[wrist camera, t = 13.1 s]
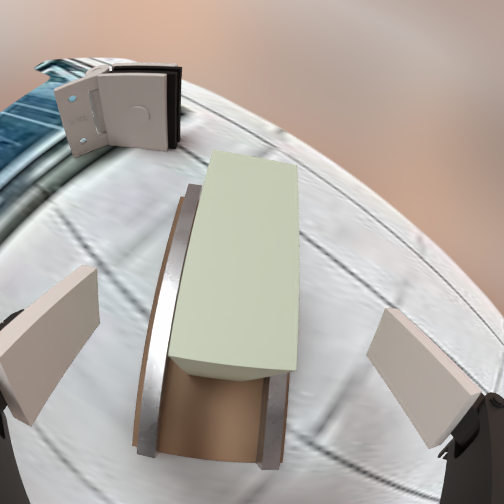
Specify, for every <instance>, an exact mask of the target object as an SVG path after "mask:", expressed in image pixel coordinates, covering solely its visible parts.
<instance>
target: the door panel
mask: <svg viewBox="0 0 504 504" xmlns="http://www.w3.org/2000/svg"><path fill="white" fill-rule="evenodd" d="M298 313H299V204H298V173H297V166H296V165H291V164H287V163H282V162H277V161H273V160H268V159H263V158H257V157H252V156H246V155H241V154H235V153H229V152H222V151H216V150H213V152H212V156H211V159H210V163H209V166H208V170H207V174H206V177H205V181H204V185H203V189H202V192H201V196H200V200H199V204H198V208H197V212H196V216H195V220H194V225H193V229H192V233H191V237H190V242H189V246H188V251H187V255H186V260H185V265H184V269H183V274H182V279H181V284H180V289H179V294H178V300H177V305H176V310H175V316H174V322H173V327H172V333H171V340H170V346H169V352H168V356H169V357H170V358H171V359H172V360H173V361H174V362H175V363H176V364H177V365H178V366H179V367H180V368H181V369H182V370H183V371H184V372H185V373H186V374H188V375H194V376H200V377H207V378H215V379H223V380H231V381H241V382H243V381H249V380H254V379H259V378H264V377H269V376H274V375H279V374H283V373H287V372H292V371H296V365H297V343H298Z"/></svg>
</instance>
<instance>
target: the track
mask: <svg viewBox="0 0 504 504" xmlns="http://www.w3.org/2000/svg"><path fill="white" fill-rule="evenodd" d="M201 192H202V186H201V185H195V184H189V185H188V188H187V191H186V194H185V197H180V201H179V204H178V207H177V211H176V214H175V217H174V221H173V224H172V228H171V232H170V235H169V239H168V243H167V246H166V250H165V254H164V258H163V262H162V266H161V270H160V274H159V278H158V283H157V287H156V292H155V296H154V301H153V305H152V310H151V315H150V320H149V325H148V330H147V336H146V341H145V347H144V353H143V359H142V365H141V372H140V379H139V386H138V393H137V402H136V410H135V420H134V431H133V443H132V446H136V447H137V454H139V455H143V456H147V457H152V458H155V457H156V455H157V454H158V452H162V453H167V454H173V455H178V456H185V457H191V458H199V459H207V460H217V461H229V462H247V463H256V464H257V465H258V466H259V467H260V468H261V470H278V469H279V465H280V463H282V461H283V451H284V441H285V429H286V418H287V405H288V391H289V375H290V372H287V373H283V374H279V375H274V376H269V377H264V378H259V379H254V380H249V381H243V382H241V381H231V380H223V379H215V378H207V377H200V376H194V375H188V374H186V373H185V372H184V371H183V370H182V369H181V368H180V367H179V366H178V365H177V364H176V363H175V362H174V361H173V360H172V359H171V358H170V357H169V356H168V352H169V346H170V340H171V333H172V327H173V322H174V316H175V310H176V305H177V300H178V294H179V289H180V284H181V279H182V274H183V269H184V265H185V260H186V255H187V251H188V246H189V242H190V237H191V233H192V229H193V225H194V220H195V216H196V212H197V208H198V204H199V200H200V196H201Z"/></svg>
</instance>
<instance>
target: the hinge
mask: <svg viewBox="0 0 504 504" xmlns="http://www.w3.org/2000/svg"><path fill="white" fill-rule="evenodd" d="M181 78H182V67H177V64H170V63H115V64H114V65H113V66H112V71H109V66H108V65H101V66H97V67H94V68H92V69H90V70H88V71H87V72H86V76H85V77H83V78H80V79H78V80H75V81H72V82H70V83H67V84H65V85H62V86H60V87H57V88H55V89H54V94H55V98H56V102H57V105H58V109H59V113H60V116H61V119H62V123H63V126H64V129H65V133H66V136H67V139H68V142H69V145H70V148H71V151H72V153H73V156H74V158H76V157H78V156H80V155H83V154H85V153H87V152H90V151H92V150H95V149H98V148H100V147H103V146H105V145H108V144H109V145H110V146H122V147H132V148H142V149H151V150H159V151H167V150H168V148H171V149H176V147H177V142H179V141H180V110H181ZM88 92H89V93H88ZM73 95H74V96H76V100H75V101H74V102H70V101H69V100H68V99H69V97H70V96H73ZM89 95H90V98H89ZM90 100H91V103H90ZM91 105H92V108H91ZM92 110H93V113H92ZM93 115H94V117H93ZM94 119H95V122H94ZM95 124H96V126H95ZM96 128H97V130H96ZM97 132H98V133H97ZM82 138H86V139H87V141H86V142H85V143H81V142H80V140H81V139H82Z"/></svg>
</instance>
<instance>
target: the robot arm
mask: <svg viewBox="0 0 504 504" xmlns="http://www.w3.org/2000/svg"><path fill="white" fill-rule="evenodd" d="M99 324H100V318H99V304H98V283H97V268H95V267H90V266H85V265H82V266H80V267H79V268H78V269H76V270H75V271H74V272H72V273H71V274H69V275H68V276H67V277H65V278H64V279H63V280H62V281H60V282H59V283H58V284H56V285H55V286H54V287H52V288H51V289H50V290H49V291H47V292H46V293H45V294H43V295H42V296H41V297H40V298H38V299H37V300H36V301H35V302H34V303H32V304H31V305H30V306H29V307H27V308H26V309H25V310H24V309H22V310H20V311H18V312H15V313H13V314H11V315H10V316H9V317H8V318H6V319H5V320H4V321H3V323H1V324H0V504H30V502H29V499H28V497H27V494H26V491H25V489H24V486H23V483H22V480H21V477H20V474H19V470H18V467H17V464H16V460H15V456H14V453H13V449H12V444H11V440H10V435H9V430H8V425H7V419H6V416H5V414H4V412H3V410H4V409H5V408H6V406H7V405H8V407H9V409H10V411H11V413H12V415H13V416H14V417H15V418H16V419H18V420H20V421H22V422H23V423H25V424H27V425H29V426H31V427H32V425H33V423H34V421H35V420H36V418H37V416H38V415H39V413H40V411H41V409H42V408H43V406H44V405H45V403H46V401H47V400H48V398H49V397H50V395H51V393H52V392H53V390H54V389H55V387H56V386H57V384H58V382H59V381H60V379H61V378H62V376H63V375H64V373H65V372H66V370H67V369H68V367H69V366H70V364H71V363H72V362H73V360H74V359H75V357H76V356H77V354H78V353H79V352H80V350H81V349H82V347H83V346H84V345H85V343H86V342H87V340H88V339H89V338H90V336H91V335H92V333H93V332H94V331H95V329H96V328H97V327H98V325H99ZM366 355H367V357H368V358H369V360H370V361H371V362H372V364H373V365H374V367H375V368H376V370H377V371H378V373H379V374H380V376H381V377H382V378H383V380H384V381H385V383H386V384H387V386H388V387H389V389H390V390H391V392H392V393H393V395H394V396H395V398H396V399H397V401H398V402H399V404H400V405H401V407H402V408H403V410H404V411H405V413H406V414H407V416H408V417H409V419H410V421H411V422H412V424H413V425H414V427H415V428H416V430H417V431H418V433H419V435H420V436H421V438H422V439H423V441H424V442H425V444H426V446H427V447H428V449H431V448H433V447H436V446H438V445H441V444H442V443H443V442H444V441H445V439H446V438H447V437H448V436H449V435H450V434H451V435H452V436H453V437H454V438H453V439H452V440H451V441H450V442H449V443H448V444H447V446H446V447H445V448H444V449H443V450H442V451H441V452H440V453H439V455H438V458H440V457H441V456H442V455H443V454H444V453H445V452H448V453H447V454H446V455H445V456H444V457H443V459H445V460H447V464H446V471H445V478H444V484H443V489H442V494H441V499H440V504H504V399H503V398H502V397H501V396H500V395H498V394H496V393H491V392H490V393H487V394H486V396H484V395H483V394H482V393H481V392H482V391H481V390H480V389H479V388H478V387H477V386H476V385H475V384H474V383H473V382H472V381H471V379H470V378H469V377H468V376H467V375H466V374H465V373H464V372H463V371H462V370H461V369H460V368H459V367H458V366H457V365H456V364H455V363H454V362H453V361H452V360H451V359H450V358H449V357H448V356H447V355H446V354H445V353H444V352H443V351H442V350H441V349H440V348H439V347H438V346H436V345H435V344H434V343H433V342H432V341H431V340H430V339H429V338H428V337H427V336H426V335H425V334H424V333H423V332H422V331H421V330H420V329H419V328H417V327H416V326H415V325H414V324H413V323H412V322H411V321H410V320H409V319H408V318H407V317H406V316H404V315H403V314H402V313H401V312H400V311H399V310H398V309H393V308H385V310H384V313H383V316H382V318H381V321H380V323H379V326H378V328H377V331H376V333H375V336H374V338H373V340H372V343H371V345H370V347H369V350H368V352H367V354H366Z"/></svg>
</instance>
